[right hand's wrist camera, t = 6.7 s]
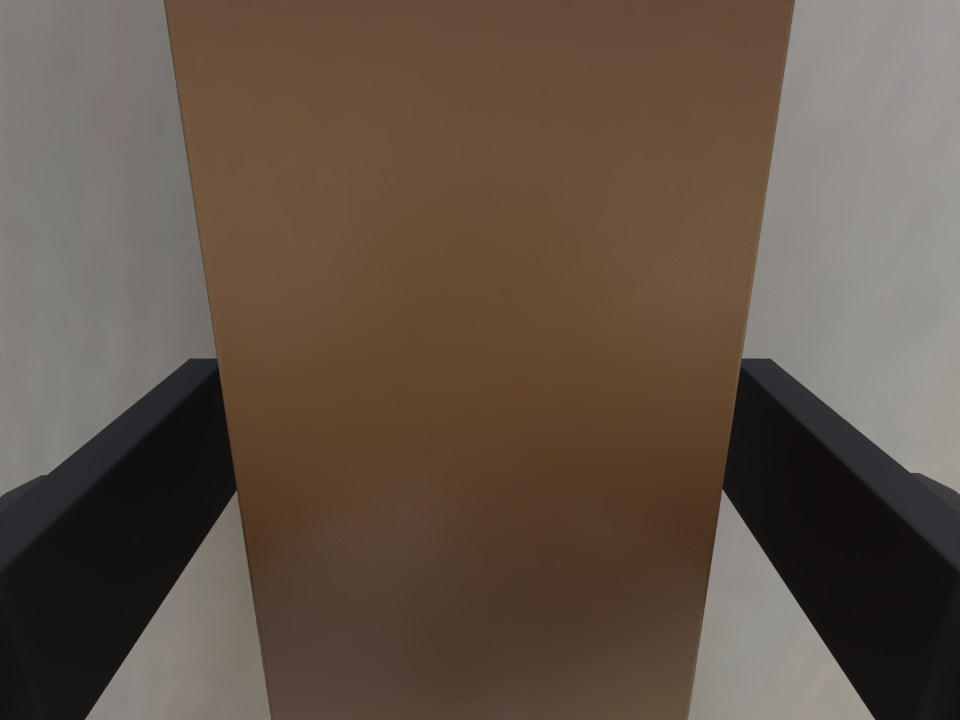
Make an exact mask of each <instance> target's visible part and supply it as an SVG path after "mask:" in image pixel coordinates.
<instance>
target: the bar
mask: <svg viewBox="0 0 960 720" xmlns="http://www.w3.org/2000/svg"><path fill="white" fill-rule="evenodd" d="M794 3H795V0H164V5H165V11H166V18H167V25H168V32H169V38H170V45H171V52H172V58H173V65H174V72H175V78H176V85H177V92H178V98H179V105H180V112H181V119H182V125H183V132H184V139H185V145H186V152H187V159H188V165H189V172H190V179H191V185H192V192H193V199H194V206H195V212H196V219H197V226H198V232H199V239H200V246H201V252H202V259H203V266H204V272H205V279H206V286H207V293H208V299H209V306H210V313H211V319H212V326H213V333H214V339H215V346H216V353H217V359H218V366H219V373H220V380H221V386H222V393H223V400H224V406H225V413H226V420H227V426H228V433H229V440H230V447H231V453H232V460H233V467H234V473H235V480H236V487H237V493H238V500H239V507H240V513H241V520H242V527H243V534H244V540H245V547H246V554H247V560H248V567H249V574H250V580H251V587H252V594H253V600H254V607H255V614H256V621H257V627H258V634H259V641H260V647H261V654H262V661H263V667H264V674H265V681H266V687H267V694H268V701H269V708H270V714H271V720H688V715H689V709H690V702H691V695H692V688H693V682H694V675H695V668H696V662H697V655H698V648H699V641H700V635H701V628H702V621H703V614H704V608H705V601H706V594H707V588H708V581H709V574H710V567H711V561H712V554H713V547H714V541H715V534H716V527H717V520H718V514H719V507H720V500H721V493H722V487H723V480H724V473H725V467H726V460H727V453H728V446H729V440H730V433H731V426H732V420H733V413H734V406H735V399H736V393H737V386H738V379H739V372H740V366H741V359H742V352H743V346H744V339H745V332H746V325H747V319H748V312H749V305H750V299H751V292H752V285H753V278H754V272H755V265H756V258H757V251H758V245H759V238H760V231H761V225H762V218H763V211H764V204H765V198H766V191H767V184H768V178H769V171H770V164H771V157H772V151H773V144H774V137H775V131H776V124H777V117H778V110H779V104H780V97H781V90H782V83H783V77H784V70H785V63H786V57H787V50H788V43H789V36H790V30H791V23H792V16H793V10H794Z"/></svg>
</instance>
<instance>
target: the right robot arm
mask: <svg viewBox="0 0 960 720" xmlns="http://www.w3.org/2000/svg"><path fill="white" fill-rule="evenodd" d="M722 489H723V490H724V492H725V493H726V495H727V496H728V498H729V499H730V501H731V502H732V504H733V505H734V507H735V508H736V510H737V511H738V513H739V514H740V516H741V518H742V519H743V521H744V522H745V524H746V525H747V527H748V528H749V530H750V531H751V533H752V534H753V536H754V537H755V539H756V540H757V542H758V543H759V545H760V546H761V548H762V549H763V551H764V552H765V554H766V555H767V557H768V558H769V560H770V561H771V563H772V564H773V566H774V567H775V569H776V570H777V572H778V573H779V575H780V576H781V578H782V579H783V581H784V583H785V584H786V586H787V587H788V589H789V590H790V592H791V593H792V595H793V596H794V598H795V599H796V601H797V602H798V604H799V605H800V607H801V608H802V610H803V611H804V613H805V614H806V616H807V617H808V619H809V620H810V622H811V623H812V625H813V626H814V628H815V629H816V631H817V632H818V634H819V635H820V637H821V638H822V640H823V641H824V643H825V644H826V646H827V648H828V649H829V651H830V652H831V654H832V655H833V657H834V658H835V660H836V661H837V663H838V664H839V666H840V667H841V669H842V670H843V672H844V673H845V675H846V676H847V678H848V679H849V681H850V682H851V684H852V685H853V687H854V688H855V690H856V691H857V693H858V694H859V696H860V697H861V699H862V700H863V702H864V703H865V705H866V706H867V708H868V709H869V711H870V713H871V714H872V716H873V717H874V719H875V720H960V494H958V493H957V492H956V491H954V490H952V489H950V488H948V487H946V486H944V485H942V484H940V483H938V482H936V481H934V480H932V479H930V478H928V477H926V476H924V475H922V474H920V473H910V472H908V471H907V470H906V469H905V468H903V467H902V466H901V465H900V464H898V463H897V462H896V461H895V460H894V459H892V458H891V457H890V456H889V455H887V454H886V453H885V452H884V451H883V450H881V449H880V448H879V447H878V446H876V445H875V444H874V443H873V442H872V441H870V440H869V439H868V438H867V437H865V436H864V435H863V434H862V433H860V432H859V431H858V430H857V429H856V428H854V427H853V426H852V425H851V424H849V423H848V422H847V421H846V420H845V419H843V418H842V417H841V416H840V415H838V414H837V413H836V412H835V411H834V410H832V409H831V408H830V407H829V406H827V405H826V404H825V403H824V402H822V401H821V400H820V399H819V398H818V397H816V396H815V395H814V394H813V393H811V392H810V391H809V390H808V389H807V388H805V387H804V386H803V385H802V384H800V383H799V382H798V381H797V380H796V379H794V378H793V377H792V376H791V375H789V374H788V373H787V372H786V371H784V370H783V369H782V368H781V367H780V366H778V365H777V364H776V363H775V362H773V361H772V360H771V359H741V366H740V372H739V379H738V386H737V393H736V399H735V406H734V413H733V420H732V426H731V433H730V440H729V446H728V453H727V460H726V467H725V473H724V480H723V487H722ZM236 490H237V487H236V480H235V473H234V467H233V460H232V453H231V447H230V440H229V433H228V426H227V420H226V413H225V406H224V400H223V393H222V386H221V380H220V373H219V366H218V359H189V360H188V361H187V362H185V363H184V364H183V365H182V366H180V367H179V368H178V369H177V370H176V371H174V372H173V373H172V374H171V375H169V376H168V377H167V378H166V379H164V380H163V381H162V382H161V383H160V384H158V385H157V386H156V387H155V388H153V389H152V390H151V391H150V392H149V393H147V394H146V395H145V396H144V397H142V398H141V399H140V400H139V401H138V402H136V403H135V404H134V405H133V406H131V407H130V408H129V409H128V410H126V411H125V412H124V413H123V414H122V415H120V416H119V417H118V418H117V419H115V420H114V421H113V422H112V423H111V424H109V425H108V426H107V427H106V428H104V429H103V430H102V431H101V432H100V433H98V434H97V435H96V436H95V437H93V438H92V439H91V440H90V441H88V442H87V443H86V444H85V445H84V446H82V447H81V448H80V449H79V450H77V451H76V452H75V453H74V454H73V455H71V456H70V457H69V458H68V459H66V460H65V461H64V462H63V463H61V464H60V465H59V466H58V467H57V468H55V469H54V470H53V471H52V472H50V473H49V474H48V475H41V476H39V477H37V478H35V479H33V480H31V481H29V482H27V483H25V484H23V485H21V486H19V487H17V488H15V489H13V490H11V491H9V492H7V493H5V494H4V495H3V496H2V497H0V720H85V719H86V717H87V716H88V714H89V712H90V711H91V709H92V708H93V706H94V705H95V703H96V702H97V700H98V699H99V697H100V696H101V694H102V693H103V691H104V690H105V688H106V687H107V685H108V684H109V682H110V681H111V679H112V678H113V676H114V675H115V673H116V672H117V670H118V669H119V667H120V666H121V664H122V663H123V661H124V660H125V658H126V657H127V655H128V654H129V652H130V651H131V649H132V647H133V646H134V644H135V643H136V641H137V640H138V638H139V637H140V635H141V634H142V632H143V631H144V629H145V628H146V626H147V625H148V623H149V622H150V620H151V619H152V617H153V616H154V614H155V613H156V611H157V610H158V608H159V607H160V605H161V604H162V602H163V601H164V599H165V598H166V596H167V595H168V593H169V592H170V590H171V589H172V587H173V586H174V584H175V582H176V581H177V579H178V578H179V576H180V575H181V573H182V572H183V570H184V569H185V567H186V566H187V564H188V563H189V561H190V560H191V558H192V557H193V555H194V554H195V552H196V551H197V549H198V548H199V546H200V545H201V543H202V542H203V540H204V539H205V537H206V536H207V534H208V533H209V531H210V530H211V528H212V527H213V525H214V524H215V522H216V521H217V519H218V517H219V516H220V514H221V513H222V511H223V510H224V508H225V507H226V505H227V504H228V502H229V501H230V499H231V498H232V496H233V495H234V493H235V492H236Z"/></svg>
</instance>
